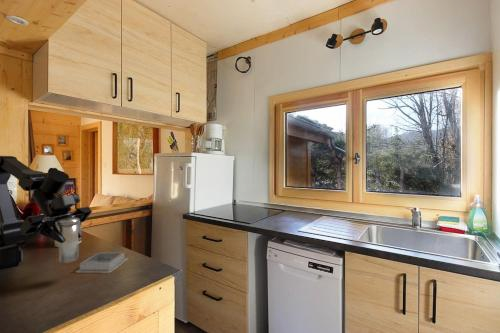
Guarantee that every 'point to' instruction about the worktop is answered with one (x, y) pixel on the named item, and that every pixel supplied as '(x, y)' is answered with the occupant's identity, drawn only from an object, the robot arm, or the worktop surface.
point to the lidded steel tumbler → (68, 239)
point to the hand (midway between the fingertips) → (71, 239)
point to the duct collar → (101, 263)
